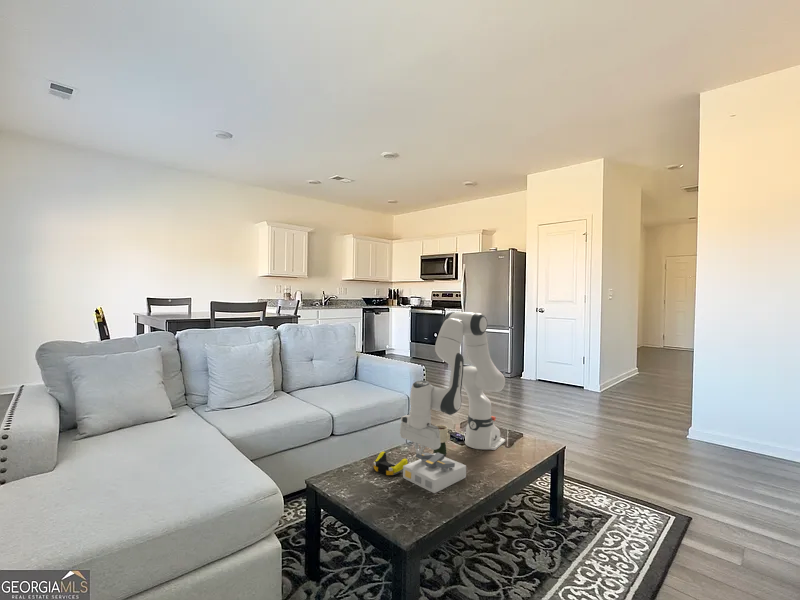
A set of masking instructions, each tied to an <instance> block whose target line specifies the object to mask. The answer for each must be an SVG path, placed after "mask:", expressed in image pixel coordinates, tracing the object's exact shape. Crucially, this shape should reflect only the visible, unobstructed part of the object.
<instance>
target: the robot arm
mask: <svg viewBox="0 0 800 600" xmlns="http://www.w3.org/2000/svg"><path fill="white" fill-rule="evenodd" d="M487 328H488V320H487V317H486V316H485V315H484V314H483V313H480V312H472V311H471V312H470V311H460V312H459V311H457V312H455V311H452V312H448V313H446V315H445V316H444V317H443V319H442V325H441V327H440V329H439V332H438V335H437V336H436V341H435V345H434V351H435V353H436V355H437V357H438V358H439V359H440V360H442V361H443V362H444V363H446V364H448V365H449V367H450V377H449V386H448V388H443V387H440V386H439V387H438V386H435V385H432V384H431V383H430V381H429V380H417V381H415V382H413V383H412V385H411V387H410V388H411V389H410V397H409V404H410V411H409V414H405V415H403V416H401V417H400V425H399V434H400V437H401V438H402V439H405V440H408V441H410V442H412V443H413V446H414V449H415V454H416V453H417V454H419V455H423V453H424V451H425V448H427V449H430V450H433V451H434V450H436V449H439V448H440V446H441V441H440V430H439V429H438V428H437V426H435V424H434V425H433V424H432V411H431V410H434V411H437V412H441V413H443V414H447V415H449V416H452V415H454V414H455V413H457V412H458V411H460V409H461V407H462V389H464V391H465V393H466V396H467V400H468V414H467V424H466V427H465V436H464V437H465V441H464V444H465V445H466V446H467V447H469V448H472V449H474V450H475V449H476V450H493V451H495V450H497V449H498V448H499V447H501V445H503V444H504V443H505V442H506V439H505V438H504V437H501V430H500V429H499V428H498V427H497V426H496V425H495V424H494V422H495V421H496V416H493V415H492V402H491V399H489V397H487V396H486V394H485V393H484V392H489V393H498V392H501V391H502V390H503V389H504V387H505V385H506V378H505V376H504V374H503V372H501V371H500V370H499V369H498V367H496V365H495V363H494V362H493V359H492V358H491V353H490V349H489V343H488V342H489V341H488V335H487ZM463 337H464V343H465V344H464V345H465V351H466V357H467V360H468V361H469V362H470V363H471V364H472V365H471V366H470V365H467V366H464V365H465V361H464V360H465V359H464V356H463V355H462V354H461V345H462V342H463ZM473 365H474V366H473ZM462 387H463V388H462Z"/></svg>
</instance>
